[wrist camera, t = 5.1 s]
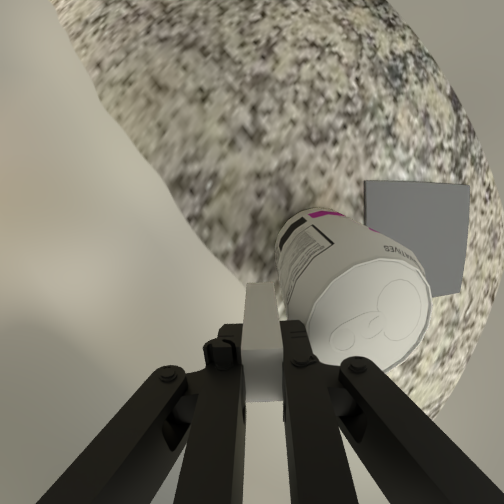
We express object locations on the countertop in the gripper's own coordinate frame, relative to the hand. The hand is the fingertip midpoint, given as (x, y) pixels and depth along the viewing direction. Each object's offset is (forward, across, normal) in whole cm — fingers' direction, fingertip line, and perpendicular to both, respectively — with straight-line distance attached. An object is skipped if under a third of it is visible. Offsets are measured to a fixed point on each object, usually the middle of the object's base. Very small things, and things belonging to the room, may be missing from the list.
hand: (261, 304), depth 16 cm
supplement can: (+12, +6, 0) cm, 13 cm away
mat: (+11, +18, 0) cm, 21 cm away
